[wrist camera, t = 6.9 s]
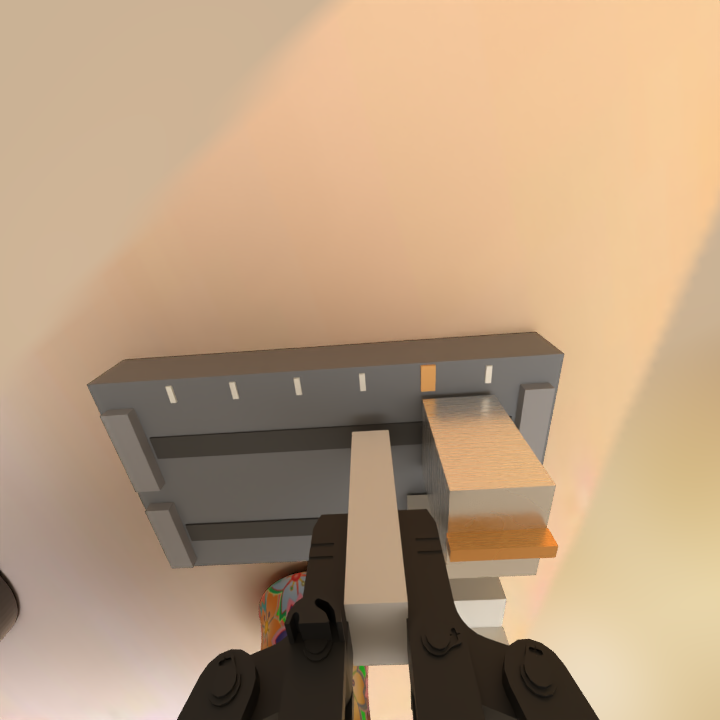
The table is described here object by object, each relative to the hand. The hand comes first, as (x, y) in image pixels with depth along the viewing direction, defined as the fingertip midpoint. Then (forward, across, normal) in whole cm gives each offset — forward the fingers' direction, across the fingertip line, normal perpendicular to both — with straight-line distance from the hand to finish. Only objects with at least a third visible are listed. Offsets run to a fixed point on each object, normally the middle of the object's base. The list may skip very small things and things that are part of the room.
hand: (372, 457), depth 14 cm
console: (+4, -2, -2) cm, 5 cm away
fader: (+1, +4, 0) cm, 4 cm away
